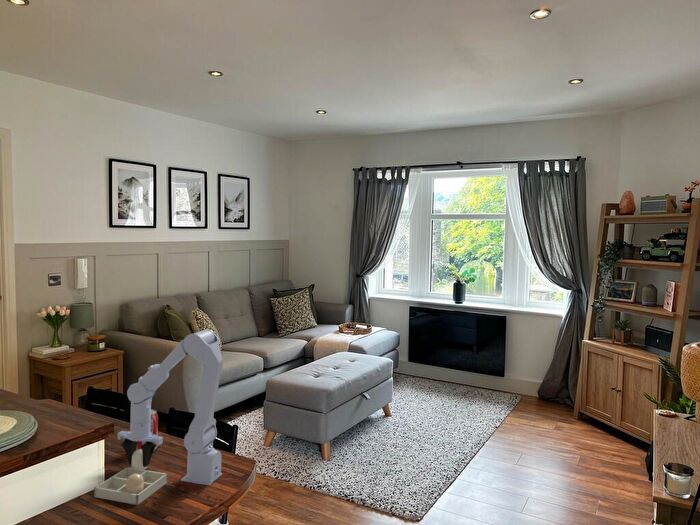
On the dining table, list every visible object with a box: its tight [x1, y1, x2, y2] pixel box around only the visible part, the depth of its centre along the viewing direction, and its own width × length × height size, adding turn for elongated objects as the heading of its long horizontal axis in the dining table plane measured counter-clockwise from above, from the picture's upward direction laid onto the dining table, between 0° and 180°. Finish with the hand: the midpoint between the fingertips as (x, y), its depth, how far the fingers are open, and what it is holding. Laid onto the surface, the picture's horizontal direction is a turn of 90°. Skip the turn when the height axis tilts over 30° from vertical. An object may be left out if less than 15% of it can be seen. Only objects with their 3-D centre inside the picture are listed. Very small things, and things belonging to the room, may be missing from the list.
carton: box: [93, 466, 168, 506], centre depth 143 cm, size 14×14×3 cm
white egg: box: [130, 449, 148, 470], centre depth 156 cm, size 4×4×6 cm
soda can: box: [136, 408, 159, 452], centre depth 170 cm, size 7×7×13 cm
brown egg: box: [126, 473, 144, 494], centre depth 139 cm, size 4×4×6 cm
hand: (139, 464), depth 156 cm, fingers closed on white egg, 4 cm apart
